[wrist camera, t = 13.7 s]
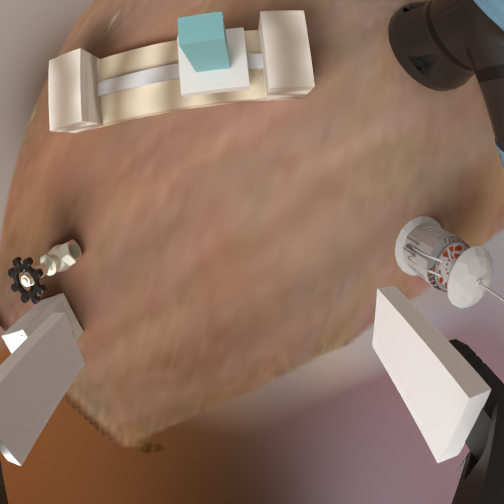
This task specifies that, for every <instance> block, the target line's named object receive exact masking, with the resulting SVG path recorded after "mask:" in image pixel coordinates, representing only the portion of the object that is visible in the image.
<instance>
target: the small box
mask: <svg viewBox="0 0 504 504" xmlns="http://www.w3.org/2000/svg"><path fill="white" fill-rule="evenodd" d="M52 313H66V315H67V318H68V321H69V324H70V327H71V330H72V332H73V335H74V338H75V341H77V340H78V339H79V337H80V336H81V335H82V334H83V332H84V331H83V330H82V328H81V326H80V324H79V322H78V320H77V318H76V317H75V315H74V313H73V311H72V309H71V307H70V305H69V303H68V301H67V299H66V297H65V295H64V293H61V294H58V295H55V296H52V297H49V298H46V299H43V300H41V301H40V302H38V303H37V304H36V305H35V306H34V307H32V308H31V309H30V310H29V311H28V312H27V313H26V314H24V315H23V316H22V317H21V318H20V319H19V320H18V321H17V322H16V323H14V324H13V325H12V326H11V327H10V328H9V329H8V330H7V331H6V332H5V333H4V334H3V335H2V338H3V340H4V341H5V343H6V345H7V346H8V348H9V350H10V352H11V353H13V352H14V351H15V350H16V349H17V348H18V347H19V346H20V345H21V344H22V343H23V342H24V341H25V340H26V339H27V338H28V337H29V336H30V335H31V334H32V333H33V332H34V331H35V330H36V329H37V328H38V327H39V326H40V325H41V324H42V323H43V322H44V321H45V320H46V319H47V318H48V317H49V316H50V315H51V314H52Z"/></svg>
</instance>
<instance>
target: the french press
mask: <svg viewBox="0 0 504 504" xmlns="http://www.w3.org/2000/svg"><path fill="white" fill-rule="evenodd" d="M445 231H446V230H443V229H442V228H441V226H440V224H439V223H438V222H437V221H436V220H434V219H433V218H431V217H425V216H419V217H417V218H415V219H412V220H410V221H409V222H408V223H407V224H406V225H405V226H404V227H403V228H402V230H401V232H400V234H399V236H398V238H397V240H396V247H395V255H396V260H397V264H398V265H399V266H400V268H401V269H402V270H403V272H406V273H408V274H410V275H419V276H420V275H421V276H420V277H423V279H424V278H425V279H424V280H427V282H428V283H430V282H429V281H432V280H435V281H434V282H432V283H430V285H432V284H433V285H434V284H436V285H437V286H433V285H432V286H433V287H434V288H436V289H439V290H442V291H445V292H448V297H449V299H450V301H451V303H452V304H453V305H454V306H457V307H459V308H465V307H470V306H471V305H473V304H475V303H477V302H478V301H479V300H480V298H481V297H482V296H483V295H484V294H485V293H486V291H487V290H488V291H489V292H491V293H492V294H494V295H495V296H497V297H498V298H499V299H501V300H502V301H504V299H503V298H502V297H500V296H499V295H497V294H496V293H494V292H493V291H492V290H490V289H489V288H488V287H489V285H490V283H491V279H492V274H493V260H492V257H491V255H490V253H489V251H488V250H486V249H485V248H484V247H482V246H473V247H471V248H470V247H469V245H467V244H466V243H465V242H464V241H463V240H462V239H461V238H459V237H458V236H456V235H454V234H451V233H450V232H447V231H446V232H445ZM446 233H447V234H446ZM449 233H450V234H449ZM451 236H452V237H453V240H454V242H452V239H451ZM454 236H455V237H456V238H457V240H458V241H456V240H455V237H454ZM448 237H449V239H450V244H449V241H448ZM445 238H446V242H447V243H445ZM433 268H434V270H433V272H432V271H431V270H432V269H433ZM428 272H430V274H428V275H427V273H428ZM433 274H434V276H433V277H432V278H430V279H428V277H430V276H431V275H433ZM422 275H423V276H422Z"/></svg>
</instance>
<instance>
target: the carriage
mask: <svg viewBox="0 0 504 504" xmlns="http://www.w3.org/2000/svg"><path fill="white" fill-rule="evenodd" d="M177 43H178V60H179V75H180V88H181V95H182V96H183V97H191V96H197V95H204V94H212V93H220V92H229V91H238V90H249V89H250V84H249V75H248V65H247V56H246V46H245V37H244V28H243V27H242V28H231V29H225V25H224V19H223V13H222V12H213V13H206V14H199V15H193V16H187V17H181V18H178V36H177Z"/></svg>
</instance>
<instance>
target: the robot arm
mask: <svg viewBox="0 0 504 504" xmlns="http://www.w3.org/2000/svg"><path fill="white" fill-rule="evenodd" d="M389 40H390V44H391V47H392V50H393V52H394V54H395V56H396V58H397V60H398V61H399V63H400V64H401V66H402V67H403V68H404V69H405V70H406V72H407V73H408V74H409V75H410V76H411V77H413V78H414V79H415V80H416V81H418V82H419V83H421V84H422V85H424V86H426V87H428V88H431V89H434V90H438V91H447V90H451V89H455V88H458V87H460V86H462V85H464V84H465V83H466V82H467V80H468V79H470V78H471V77H472V76H473V75H474V74H476V77H477V80H478V83H479V86H480V88H481V91H482V94H483V97H484V100H485V103H486V107H487V110H488V113H489V117H490V120H491V124H492V127H493V131H494V135H495V144H496V147H497V149H498V150H499V154H500V158H501V162H502V166H503V168H504V0H429V1H422V2H415V3H410V4H407V5H405V6H403V7H402V8H401V9H399V10H398V11H397V12H396V13H395V14H394V15H393V17H392V18H391V21H390V24H389ZM372 346H373V348H374V350H375V352H376V353H377V355H378V357H379V358H380V360H381V362H382V363H383V365H384V367H385V369H386V370H387V372H388V374H389V375H390V377H391V379H392V380H393V382H394V384H395V386H396V388H397V389H398V391H399V393H400V395H401V396H402V398H403V400H404V402H405V403H406V405H407V407H408V409H409V411H410V412H411V414H412V416H413V418H414V419H415V422H416V423H417V425H418V427H419V429H420V431H421V432H422V434H423V436H424V438H425V440H426V442H427V444H428V446H429V448H430V449H431V451H432V453H433V455H434V457H435V459H436V461H437V463H439V462H442V461H444V460H447V459H449V458H451V457H454V456H456V455H458V454H459V453H460V451H461V449H462V447H463V446H464V444H465V443H466V444H467V446H468V448H469V449H470V451H469V453H468V454H467V456H466V458H465V459H464V461H463V462H462V464H461V466H460V468H459V469H458V471H461V470H462V468H463V467H464V468H463V471H462V475H461V478H460V481H459V484H458V487H457V490H456V493H455V496H454V498H453V502H452V504H504V384H503V383H502V381H501V380H500V379H499V378H498V377H497V376H496V375H495V374H494V373H493V372H492V370H491V369H490V368H489V367H488V366H487V365H486V364H485V363H483V362H482V360H481V359H480V358H479V357H478V356H476V354H475V353H474V351H473V350H472V349H470V348H469V346H468V345H466V344H464V343H462V342H460V341H458V340H457V339H454V340H450V341H448V340H447V339H446V338H445V337H444V336H443V335H442V334H441V333H440V332H439V330H437V328H436V327H435V326H434V325H433V324H432V323H431V322H430V321H429V320H428V319H427V318H426V317H425V316H424V315H423V314H422V313H421V312H420V311H419V310H418V309H417V308H416V307H415V306H414V305H413V304H412V303H411V302H410V301H409V300H408V299H407V298H406V297H405V296H404V295H403V294H402V293H401V292H400V291H399V290H398V289H397V288H396V287H395V286H390V287H383V288H377V301H376V313H375V324H374V334H373V343H372ZM84 364H85V363H84V361H83V358H82V356H81V353H80V351H79V348H78V346H77V343H76V341H75V338H74V335H73V332H72V330H71V327H70V324H69V321H68V318H67V315H66V313H52V314H51V315H50V316H49V317H48V318H47V319H46V320H45V321H44V322H43V323H42V324H41V325H40V326H39V327H38V328H37V329H36V330H35V331H34V332H33V333H32V334H31V335H30V336H29V337H28V338H27V339H26V340H25V341H24V342H23V343H22V344H21V345H20V346H19V347H18V348H17V349H16V350H15V351H14V352H13V353H12V354H11V355H10V356H9V357H8V358H7V359H6V360H5V361H4V362H3V363H2V364H1V366H0V451H1V453H2V454H3V455H4V457H5V458H6V459H7V460H8V461H10V462H12V463H15V464H18V465H20V466H22V464H23V462H24V460H25V459H26V457H27V455H28V453H29V452H30V450H31V448H32V446H33V445H34V443H35V441H36V439H37V438H38V436H39V435H40V433H41V431H42V430H43V428H44V426H45V425H46V423H47V421H48V420H49V418H50V416H51V415H52V413H53V412H54V410H55V408H56V407H57V405H58V404H59V402H60V401H61V399H62V397H63V396H64V394H65V393H66V391H67V390H68V388H69V387H70V385H71V384H72V382H73V381H74V379H75V378H76V376H77V375H78V373H79V372H80V370H81V369H82V367H83V366H84ZM0 504H8V500H7V495H6V490H5V485H4V480H3V474H2V467H1V462H0Z"/></svg>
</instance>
